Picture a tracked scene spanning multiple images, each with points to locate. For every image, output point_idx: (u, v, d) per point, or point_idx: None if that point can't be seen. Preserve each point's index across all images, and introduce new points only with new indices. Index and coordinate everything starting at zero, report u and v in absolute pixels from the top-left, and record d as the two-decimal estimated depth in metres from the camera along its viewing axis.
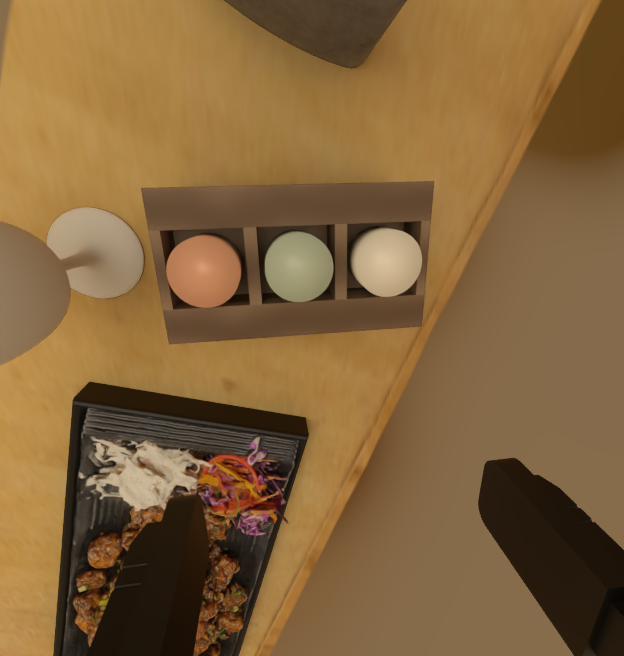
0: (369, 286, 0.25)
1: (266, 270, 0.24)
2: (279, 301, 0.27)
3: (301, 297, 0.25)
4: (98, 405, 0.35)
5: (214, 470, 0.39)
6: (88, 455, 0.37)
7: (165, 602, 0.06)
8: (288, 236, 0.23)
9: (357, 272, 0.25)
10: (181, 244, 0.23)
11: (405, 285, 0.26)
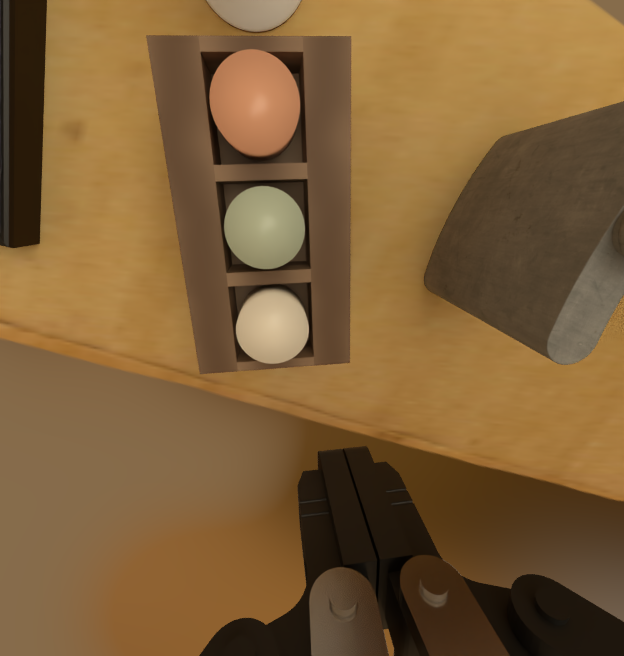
0: (247, 311, 0.23)
1: (262, 188, 0.20)
2: (219, 204, 0.22)
3: (230, 231, 0.21)
4: None
5: None
6: None
7: (359, 522, 0.08)
8: (301, 216, 0.21)
9: (262, 296, 0.22)
10: (291, 77, 0.18)
11: (250, 350, 0.23)
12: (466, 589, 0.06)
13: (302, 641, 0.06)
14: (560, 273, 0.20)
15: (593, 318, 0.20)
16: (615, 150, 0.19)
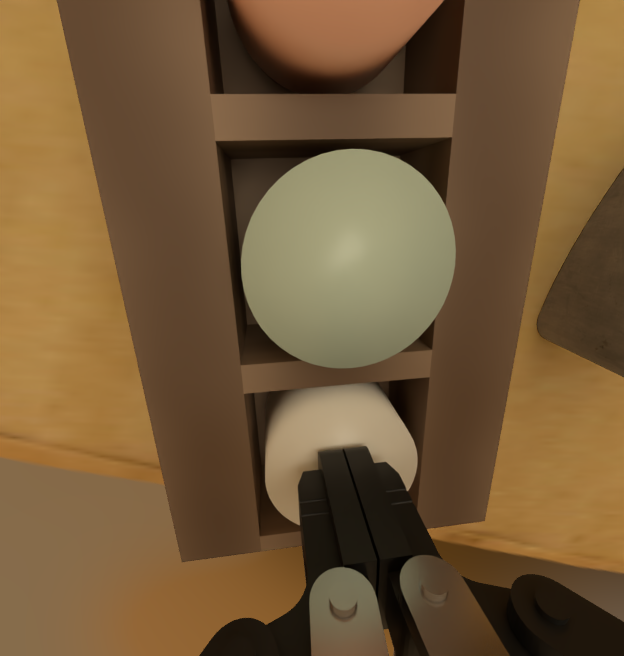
0: (291, 440, 0.10)
1: (353, 155, 0.07)
2: (224, 201, 0.09)
3: (258, 277, 0.08)
4: None
5: None
6: None
7: (359, 522, 0.08)
8: (450, 234, 0.08)
9: (324, 407, 0.10)
10: None
11: (293, 510, 0.11)
12: (466, 589, 0.06)
13: (302, 641, 0.06)
14: None
15: None
16: None
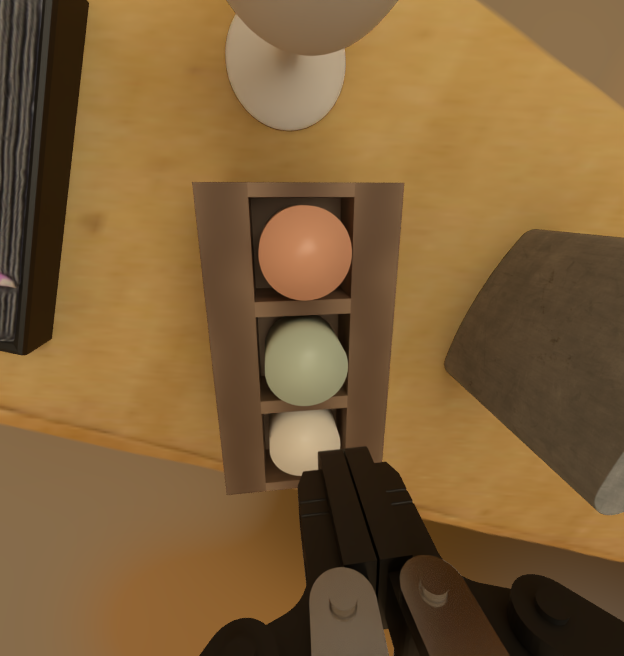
0: (282, 431, 0.23)
1: (306, 332, 0.19)
2: None
3: (271, 372, 0.20)
4: (49, 17, 0.20)
5: None
6: None
7: (359, 522, 0.08)
8: (345, 357, 0.20)
9: (297, 416, 0.23)
10: (344, 231, 0.18)
11: (282, 464, 0.24)
12: (466, 589, 0.06)
13: (302, 641, 0.06)
14: (609, 427, 0.19)
15: None
16: None
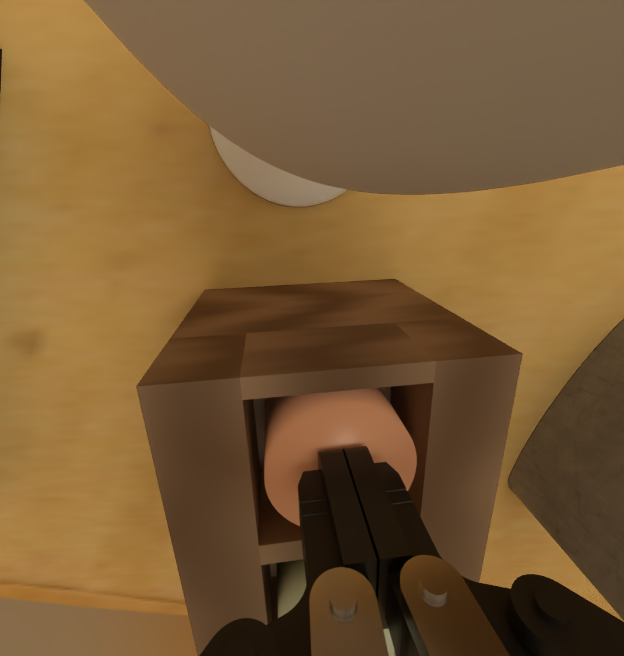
0: None
1: None
2: (264, 579, 0.13)
3: None
4: None
5: None
6: None
7: (358, 522, 0.08)
8: None
9: None
10: (405, 435, 0.11)
11: None
12: (466, 589, 0.06)
13: (302, 641, 0.06)
14: None
15: None
16: None
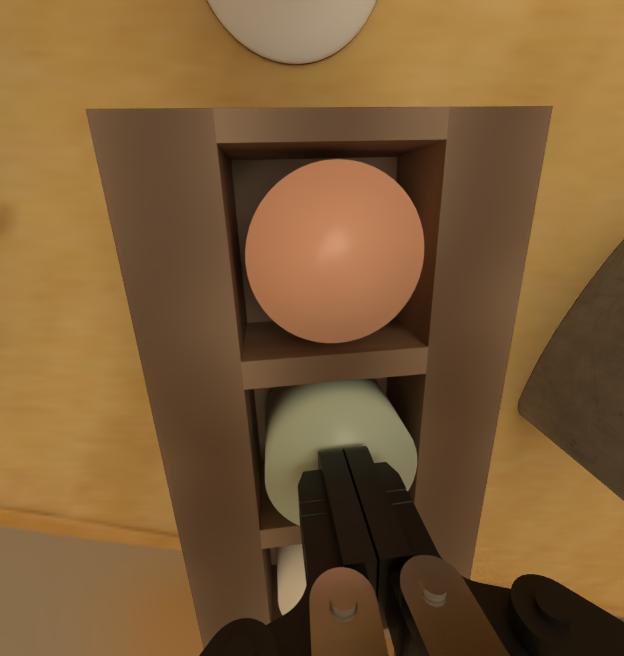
0: (299, 573, 0.13)
1: (343, 410, 0.10)
2: (248, 419, 0.11)
3: (276, 482, 0.11)
4: None
5: None
6: None
7: (359, 522, 0.08)
8: (413, 448, 0.11)
9: None
10: (411, 210, 0.09)
11: None
12: (466, 589, 0.06)
13: (302, 641, 0.06)
14: None
15: None
16: None
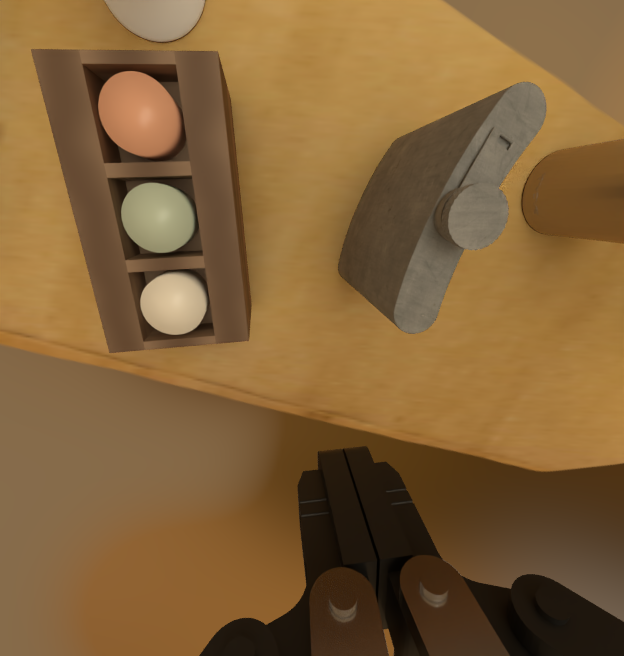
0: (149, 289, 0.27)
1: (151, 184, 0.24)
2: (113, 198, 0.25)
3: (127, 221, 0.25)
4: None
5: None
6: None
7: (359, 522, 0.08)
8: (187, 207, 0.25)
9: (161, 276, 0.27)
10: (166, 93, 0.23)
11: (154, 323, 0.27)
12: (466, 589, 0.06)
13: (302, 641, 0.06)
14: (403, 255, 0.23)
15: (430, 293, 0.23)
16: (444, 150, 0.23)
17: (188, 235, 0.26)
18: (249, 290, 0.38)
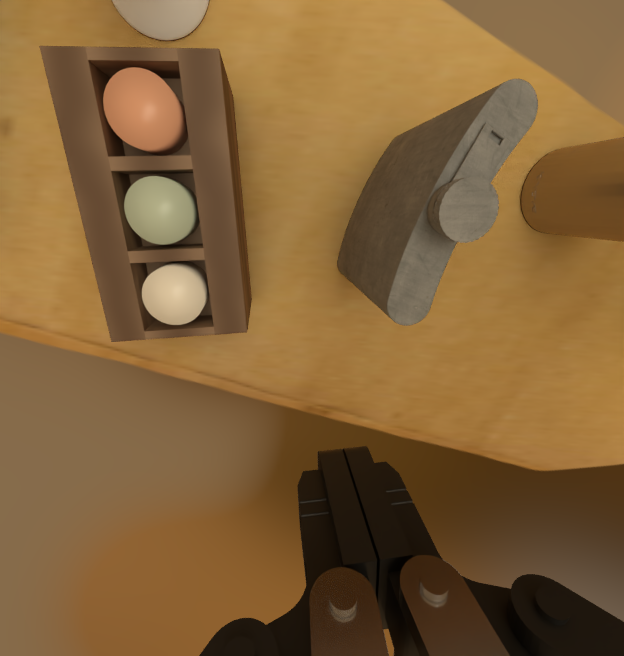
0: (150, 280, 0.27)
1: (153, 177, 0.25)
2: (117, 190, 0.25)
3: (129, 213, 0.26)
4: None
5: None
6: None
7: (359, 522, 0.08)
8: (188, 200, 0.26)
9: (162, 267, 0.27)
10: (169, 89, 0.23)
11: (155, 313, 0.28)
12: (466, 589, 0.06)
13: (302, 641, 0.06)
14: (397, 248, 0.24)
15: (423, 285, 0.24)
16: (439, 146, 0.23)
17: (189, 227, 0.26)
18: (249, 284, 0.38)
